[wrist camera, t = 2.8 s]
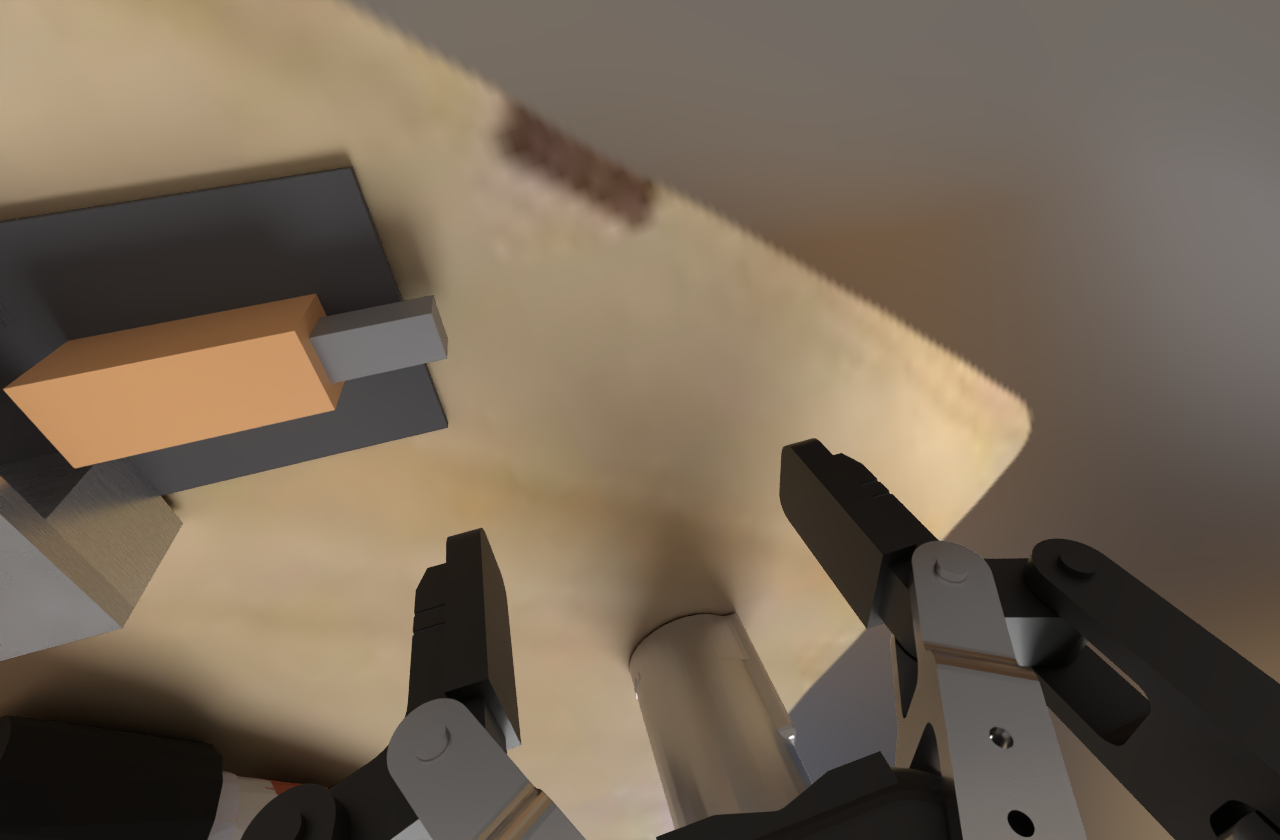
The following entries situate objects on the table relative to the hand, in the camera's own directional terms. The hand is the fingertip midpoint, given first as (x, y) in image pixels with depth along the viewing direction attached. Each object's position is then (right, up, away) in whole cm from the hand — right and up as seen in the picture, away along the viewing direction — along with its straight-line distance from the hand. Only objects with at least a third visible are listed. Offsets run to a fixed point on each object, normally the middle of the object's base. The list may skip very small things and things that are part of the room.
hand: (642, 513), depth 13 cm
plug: (-15, +5, +10) cm, 19 cm away
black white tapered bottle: (-26, -24, +27) cm, 44 cm away
